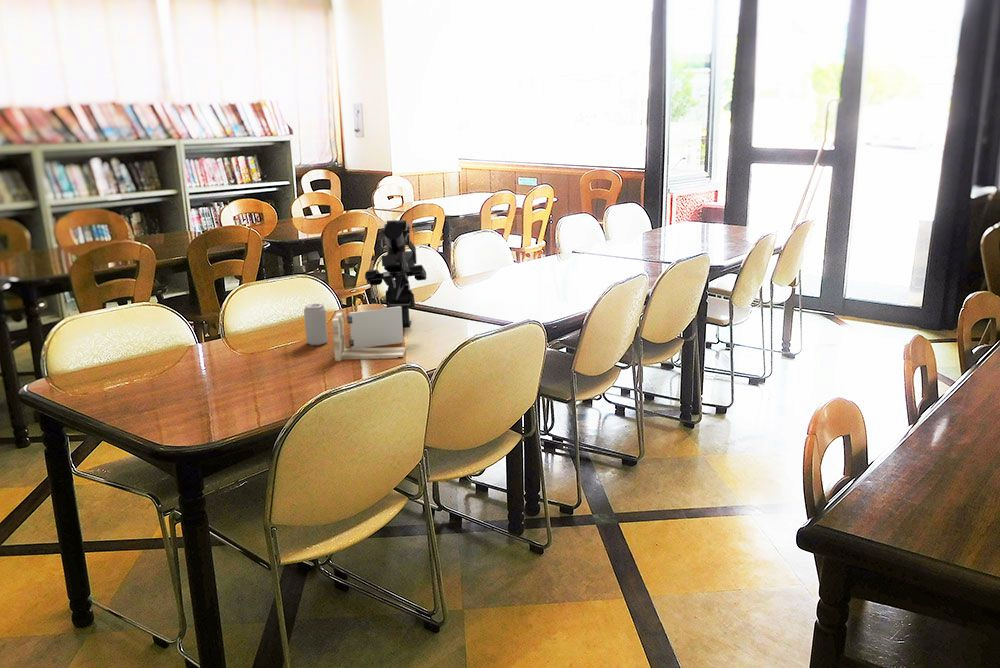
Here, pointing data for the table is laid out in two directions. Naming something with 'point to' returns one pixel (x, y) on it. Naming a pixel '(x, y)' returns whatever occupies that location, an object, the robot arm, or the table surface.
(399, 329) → the cabinet door
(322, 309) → the beverage can
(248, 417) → the table surface
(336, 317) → the cabinet corner
